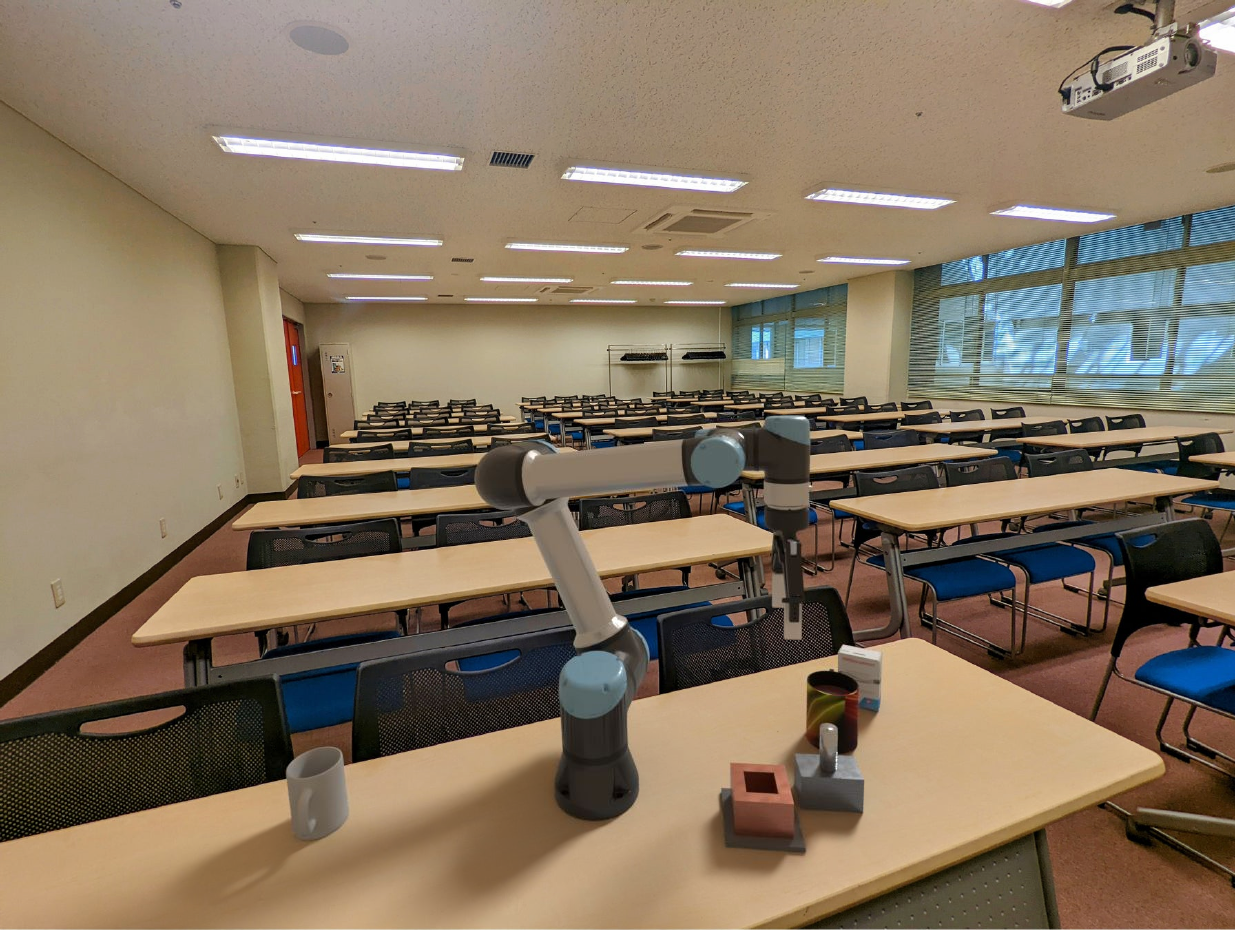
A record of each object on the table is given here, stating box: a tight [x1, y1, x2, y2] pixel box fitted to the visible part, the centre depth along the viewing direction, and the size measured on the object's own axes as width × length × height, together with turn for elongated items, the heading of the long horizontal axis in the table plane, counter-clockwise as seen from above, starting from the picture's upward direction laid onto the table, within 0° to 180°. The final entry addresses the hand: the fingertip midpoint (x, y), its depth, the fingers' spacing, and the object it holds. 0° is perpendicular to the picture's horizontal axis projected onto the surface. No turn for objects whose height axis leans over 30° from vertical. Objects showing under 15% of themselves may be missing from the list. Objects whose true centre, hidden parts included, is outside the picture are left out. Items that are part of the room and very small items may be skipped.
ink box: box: [837, 644, 883, 712], centre depth 125 cm, size 8×5×12 cm, turn 58°
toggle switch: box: [793, 723, 865, 814], centre depth 96 cm, size 10×6×13 cm, turn 83°
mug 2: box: [805, 668, 859, 755], centre depth 114 cm, size 10×14×12 cm
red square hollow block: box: [729, 762, 795, 839], centre depth 92 cm, size 9×9×6 cm
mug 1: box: [285, 746, 350, 841], centre depth 93 cm, size 12×8×11 cm
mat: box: [720, 787, 807, 853], centre depth 93 cm, size 12×12×1 cm
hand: (785, 621), depth 101 cm, fingers open, 13 cm apart
